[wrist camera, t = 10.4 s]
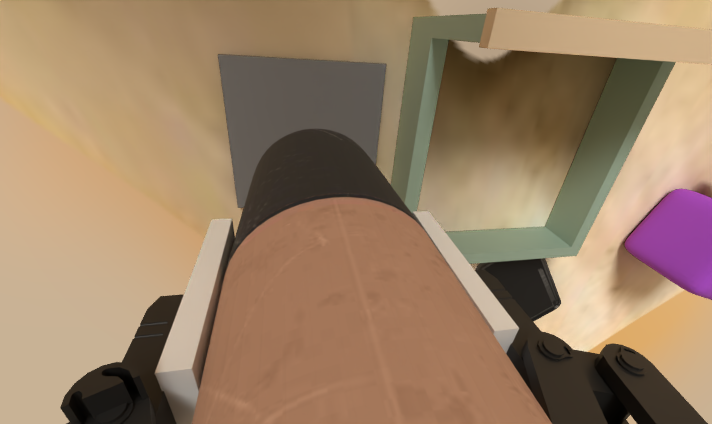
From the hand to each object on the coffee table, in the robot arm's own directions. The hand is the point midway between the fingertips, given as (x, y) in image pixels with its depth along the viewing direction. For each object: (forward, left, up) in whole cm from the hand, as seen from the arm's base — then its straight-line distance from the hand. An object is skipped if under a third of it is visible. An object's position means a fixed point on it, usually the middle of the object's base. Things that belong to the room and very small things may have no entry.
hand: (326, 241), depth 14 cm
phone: (+19, +27, -15) cm, 36 cm away
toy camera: (+9, +45, -15) cm, 48 cm away
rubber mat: (0, 0, -15) cm, 15 cm away
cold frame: (+1, +18, -15) cm, 23 cm away
